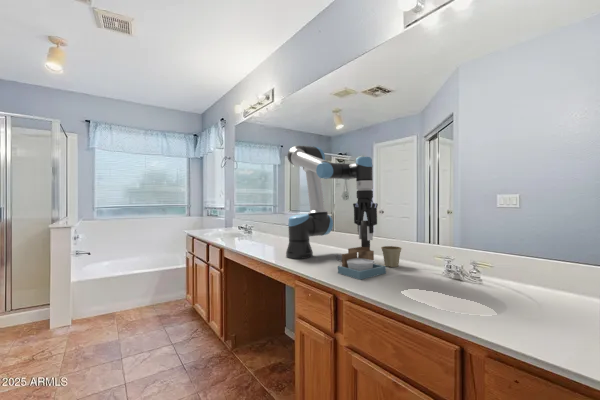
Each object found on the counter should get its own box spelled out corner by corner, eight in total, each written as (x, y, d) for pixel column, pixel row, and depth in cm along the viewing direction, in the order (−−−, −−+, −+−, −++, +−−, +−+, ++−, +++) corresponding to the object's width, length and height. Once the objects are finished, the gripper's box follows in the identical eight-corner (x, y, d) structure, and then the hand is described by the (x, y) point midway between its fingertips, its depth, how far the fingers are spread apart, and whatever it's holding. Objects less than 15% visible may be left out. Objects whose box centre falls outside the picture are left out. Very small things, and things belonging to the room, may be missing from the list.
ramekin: (378, 272, 126) (378, 260, 126) (363, 278, 118) (362, 265, 118) (358, 268, 134) (357, 257, 134) (342, 273, 127) (341, 260, 127)
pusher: (338, 268, 132) (337, 222, 131) (364, 263, 141) (363, 220, 141) (347, 271, 127) (346, 223, 126) (373, 265, 136) (373, 220, 136)
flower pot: (390, 262, 144) (390, 245, 144) (406, 266, 136) (406, 247, 136) (377, 265, 139) (376, 247, 139) (392, 269, 131) (392, 250, 131)
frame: (338, 273, 126) (337, 266, 126) (363, 267, 135) (363, 261, 135) (359, 279, 116) (359, 272, 116) (385, 273, 124) (385, 266, 124)
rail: (336, 260, 152) (336, 254, 152) (340, 259, 154) (340, 253, 154) (363, 266, 137) (363, 260, 136) (368, 265, 138) (367, 259, 138)
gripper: (345, 190, 142) (346, 238, 142) (373, 189, 127) (374, 242, 128) (356, 190, 146) (357, 236, 147) (385, 189, 132) (386, 240, 132)
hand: (365, 239), depth 137 cm, fingers open, 5 cm apart
